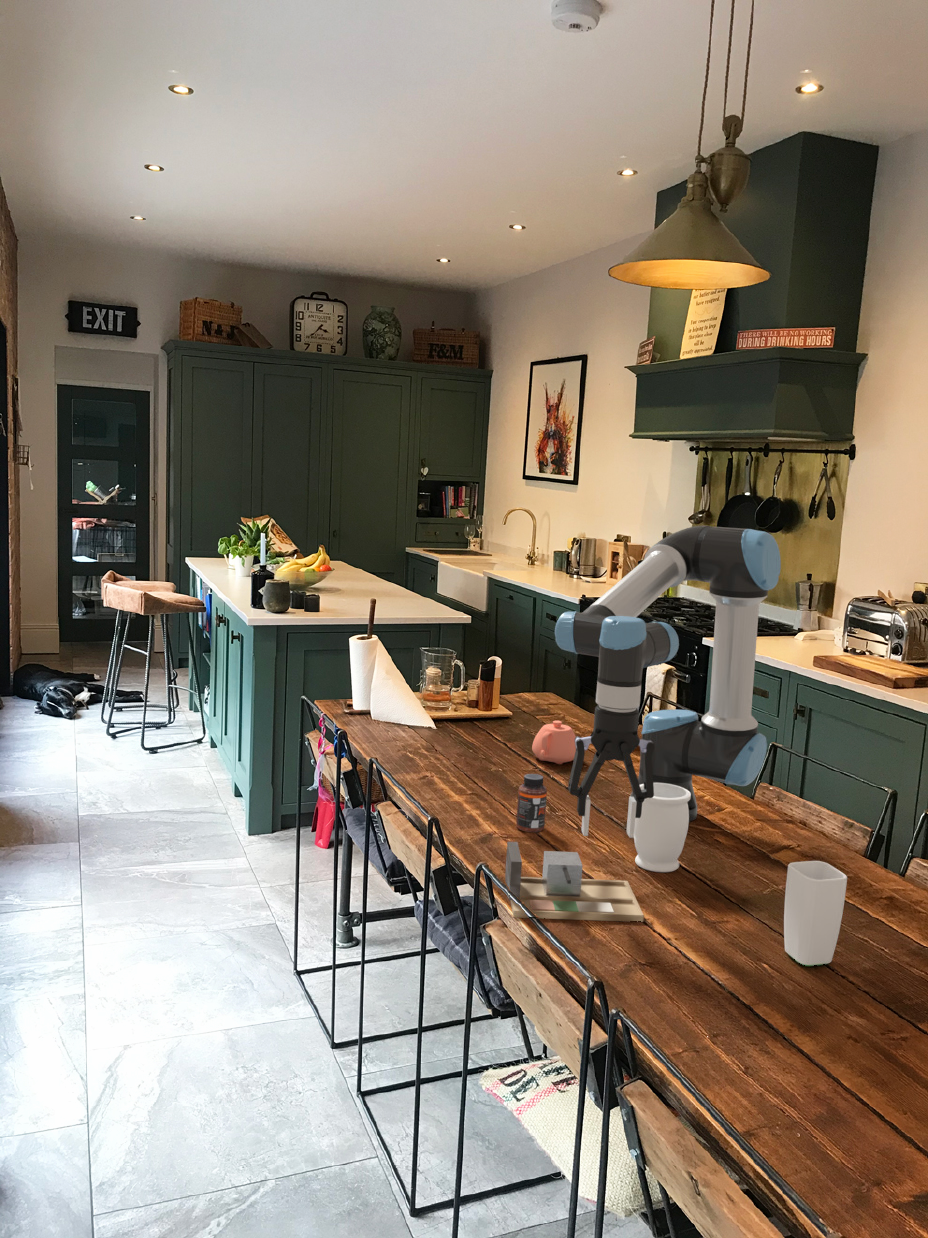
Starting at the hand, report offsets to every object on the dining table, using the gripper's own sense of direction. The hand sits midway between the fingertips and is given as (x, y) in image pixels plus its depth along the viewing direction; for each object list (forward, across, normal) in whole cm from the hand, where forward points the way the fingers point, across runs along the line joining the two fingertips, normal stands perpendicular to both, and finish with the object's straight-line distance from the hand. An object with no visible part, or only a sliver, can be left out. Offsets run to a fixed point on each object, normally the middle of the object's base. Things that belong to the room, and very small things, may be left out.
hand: (607, 833), depth 174 cm
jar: (+12, -14, -16) cm, 25 cm away
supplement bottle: (+12, +10, -34) cm, 37 cm away
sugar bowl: (+12, -2, -84) cm, 84 cm away
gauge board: (+12, +6, +2) cm, 13 cm away
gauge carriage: (+11, +8, +3) cm, 13 cm away
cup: (+12, -30, +20) cm, 37 cm away
